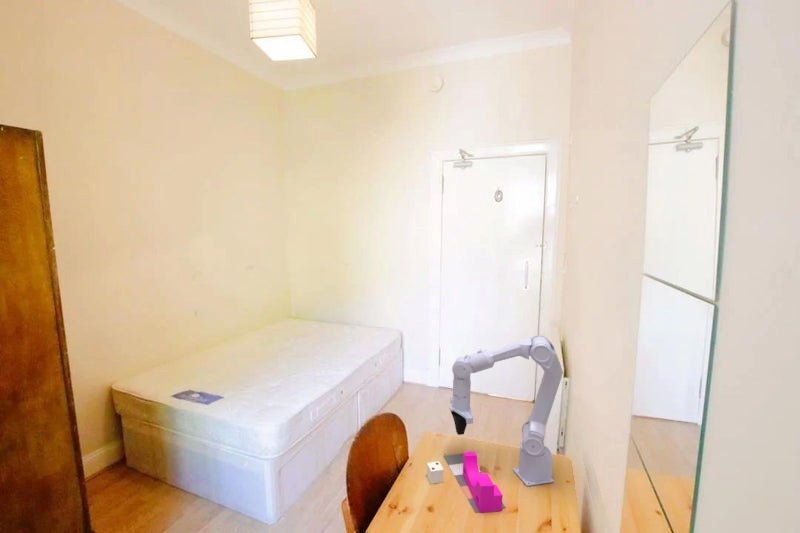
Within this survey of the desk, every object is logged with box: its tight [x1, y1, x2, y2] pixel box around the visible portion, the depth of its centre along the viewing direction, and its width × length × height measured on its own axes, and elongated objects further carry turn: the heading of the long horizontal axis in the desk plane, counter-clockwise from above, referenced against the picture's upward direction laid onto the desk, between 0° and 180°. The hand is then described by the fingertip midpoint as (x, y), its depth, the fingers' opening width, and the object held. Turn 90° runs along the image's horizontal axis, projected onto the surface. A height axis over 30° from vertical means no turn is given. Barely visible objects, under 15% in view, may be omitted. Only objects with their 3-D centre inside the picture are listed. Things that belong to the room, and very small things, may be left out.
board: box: [443, 452, 506, 514], centre depth 106 cm, size 9×25×1 cm, turn 13°
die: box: [426, 461, 445, 485], centre depth 106 cm, size 4×4×4 cm
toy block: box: [463, 451, 503, 514], centre depth 100 cm, size 15×6×8 cm, turn 8°
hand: (460, 433), depth 115 cm, fingers closed
